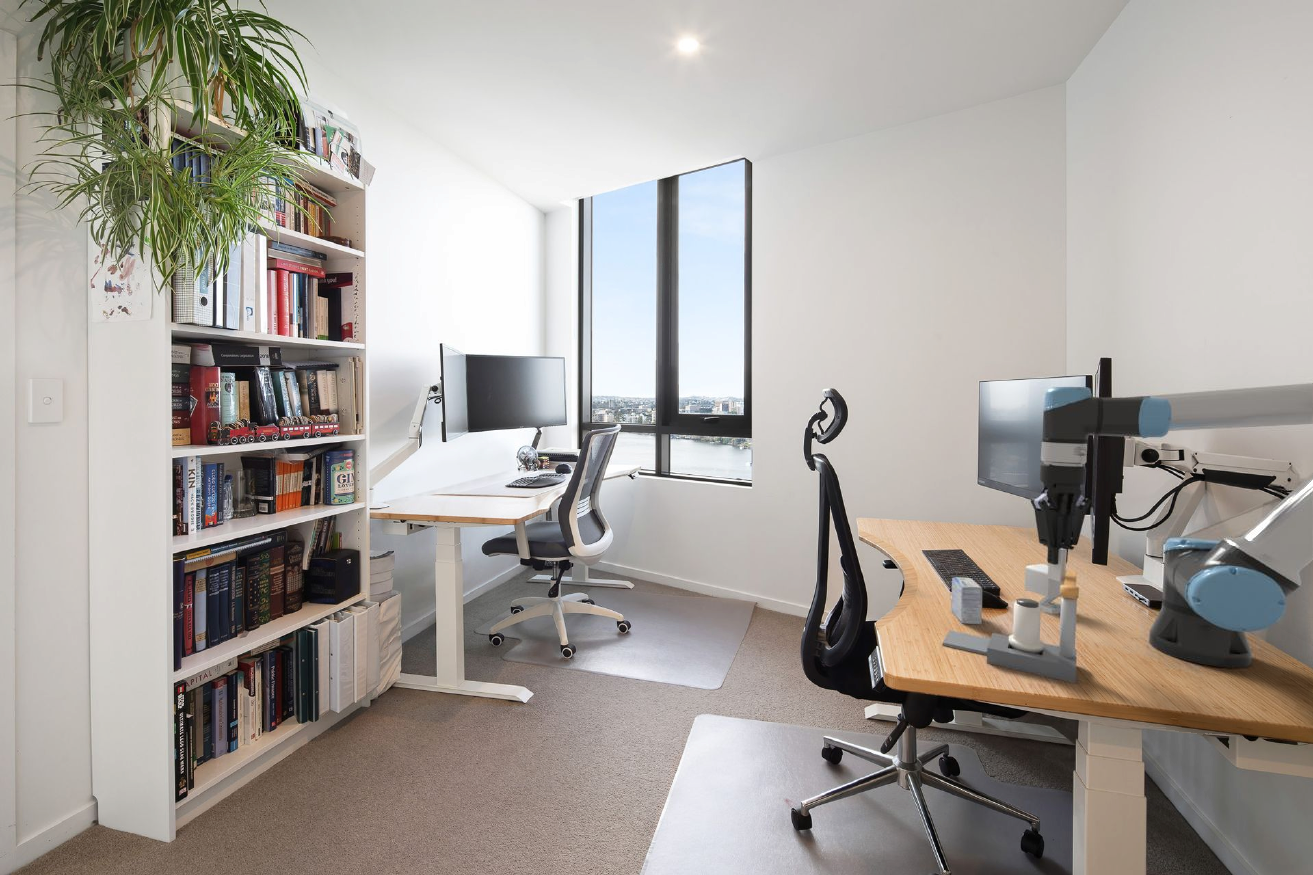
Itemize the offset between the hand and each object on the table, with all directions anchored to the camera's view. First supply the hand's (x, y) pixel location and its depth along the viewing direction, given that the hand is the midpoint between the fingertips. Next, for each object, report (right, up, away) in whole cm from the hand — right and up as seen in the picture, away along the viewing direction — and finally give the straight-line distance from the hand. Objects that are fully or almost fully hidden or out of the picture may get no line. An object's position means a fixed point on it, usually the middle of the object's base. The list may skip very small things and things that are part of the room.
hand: (1056, 579), depth 117 cm
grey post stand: (-9, -15, -5) cm, 18 cm away
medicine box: (-8, -14, +19) cm, 25 cm away
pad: (-16, -15, +4) cm, 22 cm away
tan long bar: (0, -2, -4) cm, 5 cm away
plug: (-9, -15, -4) cm, 18 cm away
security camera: (+15, -14, +25) cm, 32 cm away
